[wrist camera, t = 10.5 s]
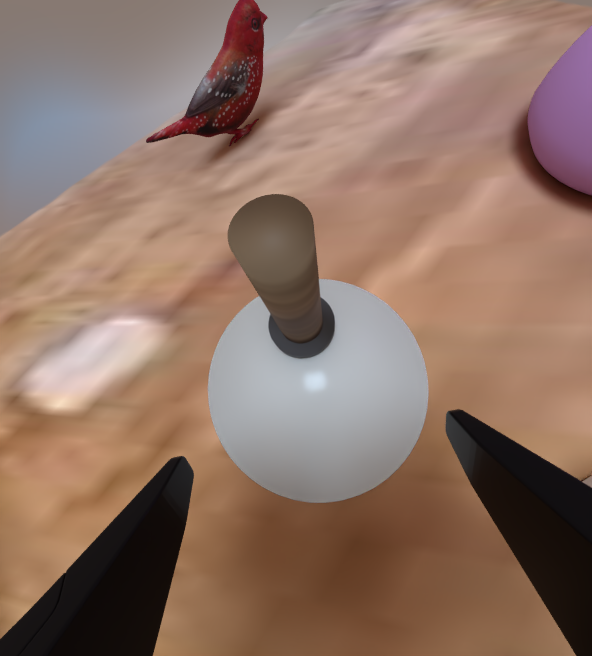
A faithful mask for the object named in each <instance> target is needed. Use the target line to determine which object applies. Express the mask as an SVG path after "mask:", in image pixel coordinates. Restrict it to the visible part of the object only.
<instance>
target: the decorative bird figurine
mask: <svg viewBox="0 0 592 656" xmlns="http://www.w3.org/2000/svg"><path fill="white" fill-rule="evenodd" d="M266 19H267V16H266V15H265V14H264V13H262V12H261V11H260V9H259V7H258V5H257V4H256V2H255V1H254V0H239V1H238V3H237V4H236V6H235V8H234V10H233V12H232V14H231V16H230V18H229V21H228V25H227V29H226V33H225V38H224V42H223V46H222V48H221V50H220V52H219V54H218V56H217V58H216V59H215V61H214V63H213V64H212V66H211V67H210V69H209V70H208V72H207V73H206V75H205V76H204V77H203V79H202V81H201V83H200V84H199V86H198V88H197V89H196V91H195V94H194V96H193V98H192V100H191V102H190V104H189V106H188V109H187V112H186V114H185V116H184V117H183V118H182V119H180V120H179V121H177V122H175V123H173V124H172V125H170V126H168V127H166V128H165V129H162V130H161V131H159V132H158V133H155V134H154V135H153V136H151V137H149V138H148V139H147V140H146V142H147V143H149V142H156V141H159V140H164V139H167V138H171V137H174V136H178V135H181V134H195V135H200V136H204V137H212V136H215V135H218V134H223V133H228V134H235V135H236V136H234V137H233V138H232V139H231V142H230V145H229V146H231V144H232V142H233V141H234V143H235V142H237V141H238V140H239V139H240V138H241V137H242V136H244V135H246V134H248V133H249V132H250V131H251V128H252V126H253V125H254V124H255V123H256V122H257V121H258V120H259V119H256V120H255V121H254V122H253V123H252V124H248V125H246V126H245V127H244V128H243V129H237V128H238V127H239V126H240V125H241V124H243V122H244V121H245V120H246V119H247V117H248V116H249V115H250V113H251V111H252V110H253V108H254V105H255V103H256V101H257V98H258V95H259V92H260V87H261V83H262V76H263V47H264V33H263V24H264V22H265V20H266ZM235 139H236V140H235Z"/></svg>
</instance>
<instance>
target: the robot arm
mask: <svg viewBox="0 0 592 656" xmlns="http://www.w3.org/2000/svg"><path fill="white" fill-rule="evenodd" d="M446 434H447V436H448V438H449V440H450V442H451V445H452V447H453V449H454V451H455V453H456V455H457V457H458V459H459V461H460V463H461V465H462V467H463V469H464V471H465V473H466V475H467V477H468V479H469V481H470V483H471V485H472V487H473V488H474V490H475V492H476V493H477V495H478V497H479V498H480V500H481V501H482V503H483V505H484V506H485V508H486V510H487V511H488V513H489V514H490V516H491V518H492V519H493V521H494V523H495V524H496V526H497V527H498V529H499V531H500V532H501V534H502V536H503V537H504V539H505V540H506V542H507V544H508V545H509V547H510V549H511V550H512V552H513V553H514V555H515V557H516V558H517V560H518V562H519V563H520V565H521V566H522V568H523V570H524V571H525V573H526V575H527V576H528V578H529V579H530V581H531V583H532V584H533V586H534V588H535V589H536V591H537V592H538V594H539V596H540V597H541V599H542V601H543V602H544V604H545V605H546V607H547V609H548V610H549V612H550V614H551V615H552V617H553V618H554V620H555V622H556V623H557V625H558V627H559V628H560V630H561V632H562V633H563V635H564V636H565V638H566V640H567V641H568V643H569V645H570V646H571V648H572V649H573V651H574V653H575V654H576V656H592V487H590V486H588V485H587V484H585V483H583V482H582V481H580V480H578V479H577V478H575V477H573V476H572V475H570V474H568V473H567V472H565V471H563V470H562V469H560V468H558V467H557V466H555V465H553V464H552V463H550V462H548V461H547V460H545V459H543V458H542V457H540V456H538V455H537V454H535V453H533V452H532V451H530V450H528V449H527V448H525V447H523V446H522V445H520V444H518V443H516V442H515V441H513V440H511V439H510V438H508V437H506V436H505V435H503V434H501V433H500V432H498V431H496V430H495V429H493V428H491V427H490V426H488V425H486V424H485V423H483V422H481V421H480V420H478V419H476V418H475V417H473V416H471V415H470V414H468V413H466V412H465V411H463V410H460V409H457V410H452V411H448V412H447V414H446ZM193 478H194V473H193V470H192V468H191V466H190V464H189V463H188V461H187V460H186V458H185V457H184V456H179V457H174V458H171V459H170V460H169V461H168V462H167V463H166V464H165V465H164V466H163V467H162V469H161V470H160V471H159V472H158V473H157V474H156V475H155V476H154V477H153V478H152V479H151V480H150V481H149V483H148V484H147V485H146V486H145V487H144V488H143V489H142V490H141V491H140V492H139V493H138V494H137V495H136V496H135V498H134V499H133V500H132V501H131V502H130V503H129V504H128V505H127V506H126V507H125V508H124V509H123V510H122V512H121V513H120V514H119V515H118V516H117V517H116V518H115V519H114V520H113V521H112V522H111V523H110V524H109V525H108V527H107V528H106V529H105V530H104V531H103V532H102V533H101V534H100V535H99V536H98V537H97V538H96V539H95V541H94V542H93V543H92V544H91V545H90V546H89V547H88V548H87V549H86V550H85V551H84V552H83V553H82V554H81V556H80V557H79V558H78V559H77V560H76V561H75V562H74V563H73V564H72V565H71V566H70V567H69V568H68V570H67V571H66V573H64V574H63V575H62V576H61V577H60V578H59V579H58V580H57V581H56V582H55V583H54V584H53V586H52V587H51V588H50V589H49V590H48V591H47V592H46V593H45V594H44V595H43V596H42V597H41V598H40V599H39V600H38V601H37V602H36V603H35V604H34V606H33V607H32V608H31V609H30V610H29V611H28V612H27V613H26V614H25V615H24V616H23V617H22V618H21V619H20V620H19V621H18V622H17V623H16V624H15V625H14V626H13V627H12V628H11V629H10V630H9V631H8V632H7V633H6V634H5V635H4V636H3V637H2V638H1V639H0V656H153V653H154V649H155V645H156V641H157V637H158V633H159V629H160V625H161V621H162V617H163V613H164V609H165V606H166V602H167V598H168V594H169V590H170V586H171V582H172V578H173V574H174V570H175V566H176V562H177V558H178V555H179V551H180V547H181V543H182V539H183V535H184V531H185V526H186V521H187V516H188V509H189V503H190V497H191V491H192V485H193Z"/></svg>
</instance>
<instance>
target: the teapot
mask: <svg viewBox="0 0 592 656" xmlns="http://www.w3.org/2000/svg"><path fill="white" fill-rule="evenodd" d="M528 130H529V136H530V141H531V145H532V149H533V152H534V154H535V156H536V158H537V160H538V161H539V163H540V164H541V165H542V166H543V168H544V169H545V170H546V171H547V172H548V173H549V174H550V175H552V176H553V177H554V178H556V179H557V180H558V181H560V182H562V183H563V184H565V185H567V186H569V187H571V188H573V189H575V190H577V191H580V192H583V193H585V194H588V195H592V26H591V27H590V28H588V29H587V30H586V31H585V32H584V33H583V34H582V35H581V36H580V37H579V38H578V39H577V40H576V41H575V42H574V43H573V44H572V46H571V47H570V48H569V49H568V50H567V51H566V52H565V53H564V54H563V55H562V57H561V58H560V59H559V60H558V61H557V63H556V64H555V65H554V66H553V67H552V69H551V70H550V71H549V72H548V74H547V75H546V77H545V78H544V79H543V81H542V82H541V84H540V85H539V87H538V88H537V90H536V91H535V93H534V95H533V98H532V100H531V104H530V108H529V112H528Z"/></svg>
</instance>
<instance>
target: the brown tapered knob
mask: <svg viewBox="0 0 592 656" xmlns="http://www.w3.org/2000/svg"><path fill="white" fill-rule="evenodd" d="M228 242H229V246H230V248H231V250H232V252H233V254H234V255H235V257H236V259H237V260H238V262H239V263H240V265H241V267H242V268H243V270H244V272H245V273H246V275H247V276H248V278H249V280H250V281H251V283H252V285H253V286H254V288H255V289H256V291H257V293H258V294H259V296H260V298H261V299H262V301H263V303H264V304H265V306H266V307H267V309H268V311H269V312H270V317H269V322H268V328H269V333H270V336H271V338H272V340H273V342H274V343H275V344H276V346H277V347H278V348H279V349H280V350H281V351H282V352H283V353H285V354H286V355H288V356H291V357H294V358H301V359H302V358H310V357H313V356H316V355H318V354H320V353H321V352H323V351H324V350H325V349H326V348H327V347H328V346H329V344H330V343H331V341H332V339H333V336H334V331H335V317H334V313H333V311H332V309H331V307H330V306H329V304H328V303H327V302H326V301H325V300H324V299H323V298H321V297H320V287H319V277H318V266H317V255H316V245H315V234H314V224H313V218H312V215H311V213H310V211H309V210H308V208H307V207H306V206H305V205H304V204H303V203H302V202H301V201H299V200H297V199H295V198H293V197H290V196H287V195H281V194H272V195H265V196H261V197H258V198H256V199H254V200H252V201H250V202H248V203H247V204H245V205H244V206H243V207H242V208H241V209H239V211H238V212H237V213H236V214H235V216H234V217H233V219H232V221H231V223H230V225H229V229H228Z"/></svg>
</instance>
